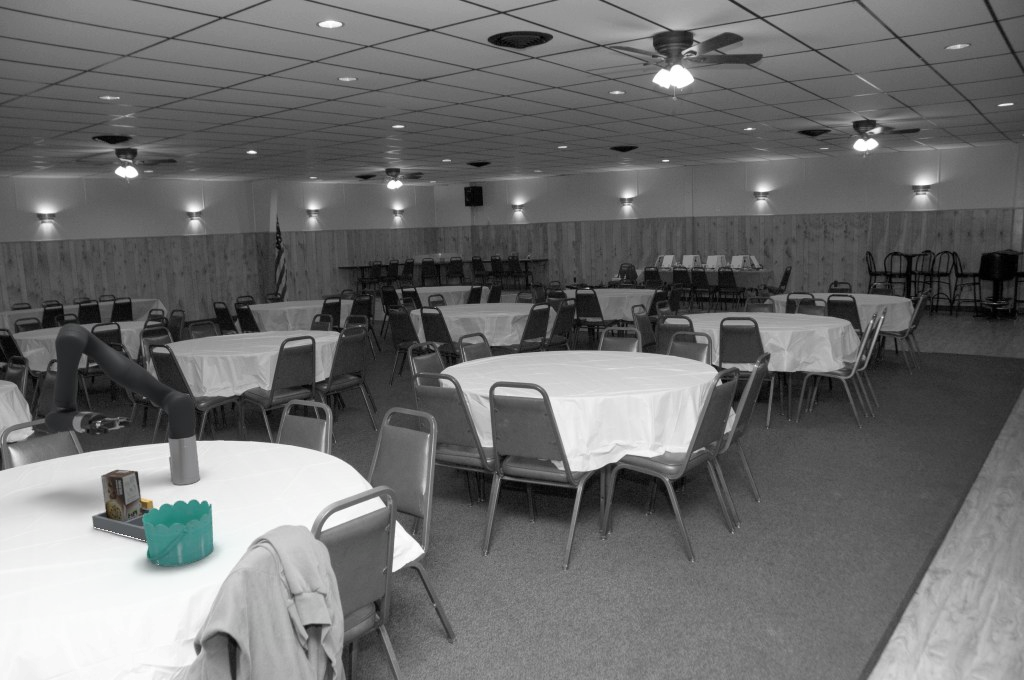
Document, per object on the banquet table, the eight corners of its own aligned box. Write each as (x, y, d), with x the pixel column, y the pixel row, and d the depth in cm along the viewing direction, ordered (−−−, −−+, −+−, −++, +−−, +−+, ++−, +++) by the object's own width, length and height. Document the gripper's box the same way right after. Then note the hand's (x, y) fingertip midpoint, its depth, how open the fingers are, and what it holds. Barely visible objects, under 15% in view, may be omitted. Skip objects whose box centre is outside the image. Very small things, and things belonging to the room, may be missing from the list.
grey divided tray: (93, 528, 246) (91, 510, 245) (134, 513, 258) (132, 495, 257) (153, 544, 231) (151, 524, 231) (193, 527, 243) (191, 509, 243)
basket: (213, 562, 217) (208, 517, 215) (141, 572, 212) (136, 527, 210) (218, 536, 235) (214, 495, 233) (152, 546, 230) (147, 504, 228)
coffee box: (144, 519, 249) (139, 470, 247) (128, 527, 243) (122, 477, 241) (122, 517, 252) (117, 468, 250) (106, 524, 246) (100, 475, 244)
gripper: (68, 417, 260) (98, 421, 252) (108, 407, 272) (138, 411, 264) (71, 439, 261) (100, 444, 253) (111, 428, 273) (140, 433, 265)
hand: (119, 427), depth 259 cm, fingers open, 8 cm apart
